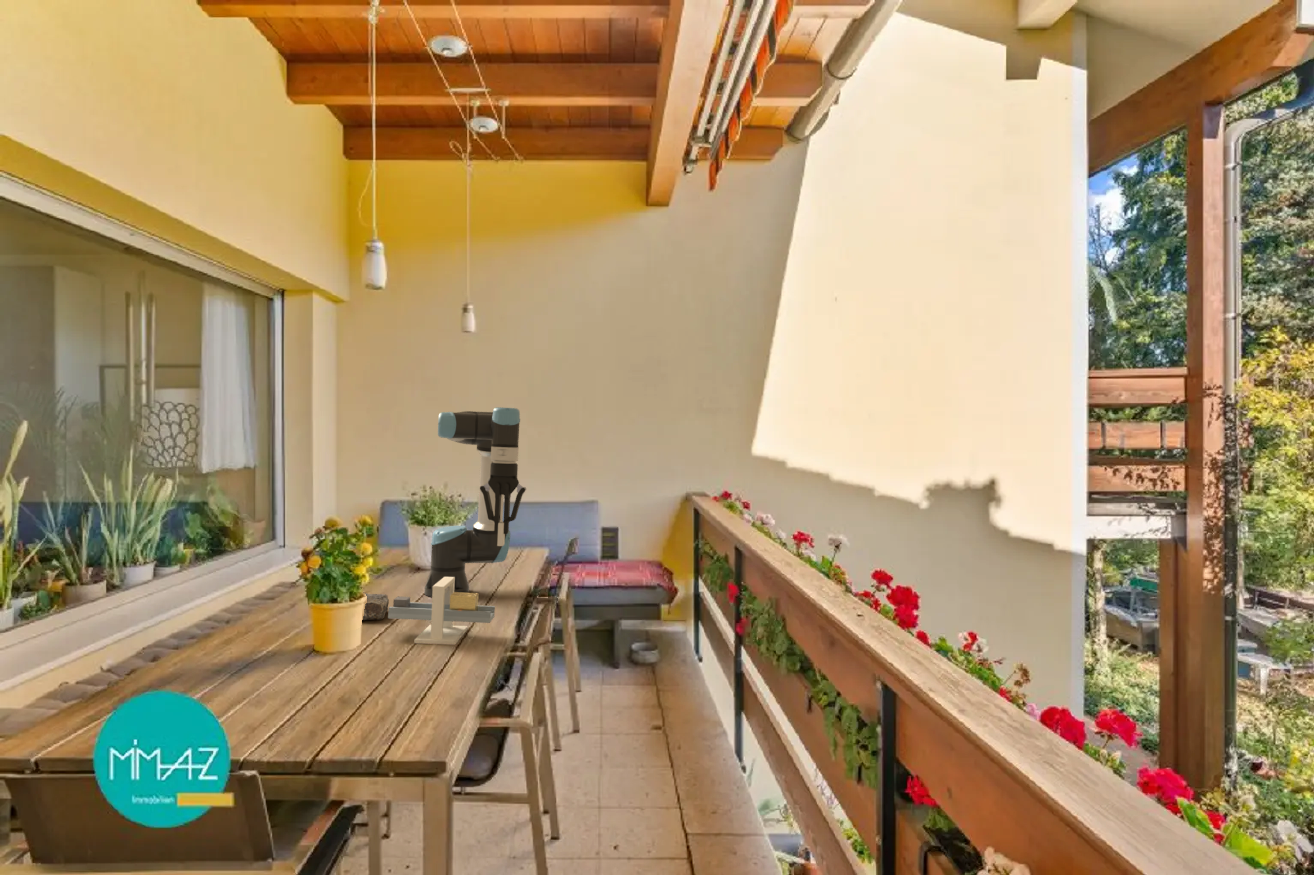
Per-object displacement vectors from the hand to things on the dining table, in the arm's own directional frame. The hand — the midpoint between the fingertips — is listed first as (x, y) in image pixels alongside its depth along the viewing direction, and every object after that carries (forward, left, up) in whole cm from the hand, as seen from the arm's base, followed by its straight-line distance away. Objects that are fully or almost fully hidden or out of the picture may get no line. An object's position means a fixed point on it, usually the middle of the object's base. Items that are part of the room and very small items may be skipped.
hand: (500, 545), depth 194 cm
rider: (0, -10, -20) cm, 22 cm away
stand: (0, -16, -26) cm, 31 cm away
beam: (0, -16, -21) cm, 26 cm away
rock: (-17, -43, -27) cm, 53 cm away
